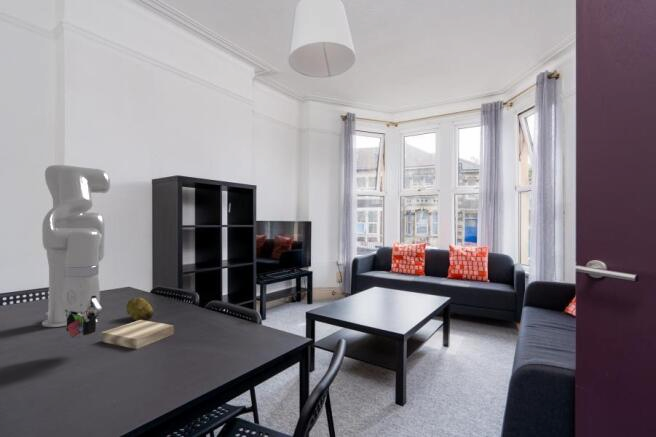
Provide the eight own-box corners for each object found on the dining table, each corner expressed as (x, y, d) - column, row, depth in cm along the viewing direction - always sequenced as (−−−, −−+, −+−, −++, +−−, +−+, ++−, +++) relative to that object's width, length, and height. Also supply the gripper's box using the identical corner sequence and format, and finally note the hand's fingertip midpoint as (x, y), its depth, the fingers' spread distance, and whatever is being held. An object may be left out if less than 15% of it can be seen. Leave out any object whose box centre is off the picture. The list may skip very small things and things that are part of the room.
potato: (130, 325, 117) (130, 303, 117) (124, 317, 127) (125, 297, 127) (154, 320, 122) (155, 300, 123) (147, 313, 132) (148, 294, 132)
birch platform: (101, 341, 101) (101, 332, 101) (140, 327, 114) (140, 319, 114) (136, 349, 95) (137, 339, 95) (173, 334, 108) (173, 325, 108)
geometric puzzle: (68, 336, 86) (87, 308, 90) (53, 332, 88) (72, 305, 93) (90, 343, 91) (107, 317, 96) (75, 339, 94) (92, 314, 98)
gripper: (49, 270, 91) (47, 330, 92) (88, 276, 85) (86, 341, 86) (77, 267, 99) (75, 323, 99) (115, 272, 93) (113, 332, 93)
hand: (80, 330), depth 92 cm, fingers closed on geometric puzzle, 6 cm apart
